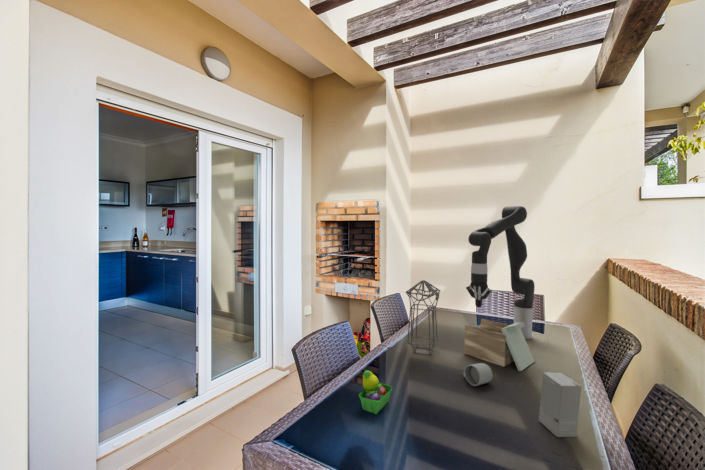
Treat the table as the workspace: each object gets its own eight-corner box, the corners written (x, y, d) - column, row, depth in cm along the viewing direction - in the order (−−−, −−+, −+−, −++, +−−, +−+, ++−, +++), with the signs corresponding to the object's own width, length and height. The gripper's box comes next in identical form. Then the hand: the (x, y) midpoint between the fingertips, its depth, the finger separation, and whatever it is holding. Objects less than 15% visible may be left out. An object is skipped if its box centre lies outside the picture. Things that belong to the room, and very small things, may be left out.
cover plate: (515, 322, 150) (525, 320, 146) (532, 361, 144) (543, 360, 141) (501, 329, 140) (511, 326, 136) (518, 371, 134) (530, 370, 131)
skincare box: (537, 421, 99) (539, 371, 99) (559, 420, 100) (560, 370, 99) (557, 439, 91) (559, 384, 90) (580, 438, 91) (582, 384, 91)
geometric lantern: (403, 354, 151) (404, 281, 151) (410, 344, 165) (411, 277, 165) (437, 359, 145) (438, 283, 145) (441, 348, 159) (441, 279, 160)
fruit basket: (378, 417, 99) (378, 382, 99) (354, 409, 104) (354, 375, 104) (393, 401, 109) (393, 369, 109) (370, 394, 114) (371, 363, 114)
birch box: (481, 345, 163) (481, 318, 163) (519, 357, 149) (520, 327, 149) (464, 353, 152) (465, 324, 152) (504, 366, 138) (505, 335, 138)
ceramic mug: (494, 384, 122) (494, 365, 122) (479, 389, 118) (479, 369, 118) (472, 374, 131) (472, 355, 131) (458, 378, 127) (458, 359, 127)
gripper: (496, 273, 153) (495, 308, 153) (470, 270, 163) (469, 303, 163) (488, 274, 148) (488, 311, 148) (462, 271, 158) (462, 305, 158)
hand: (478, 306), depth 156 cm, fingers closed
